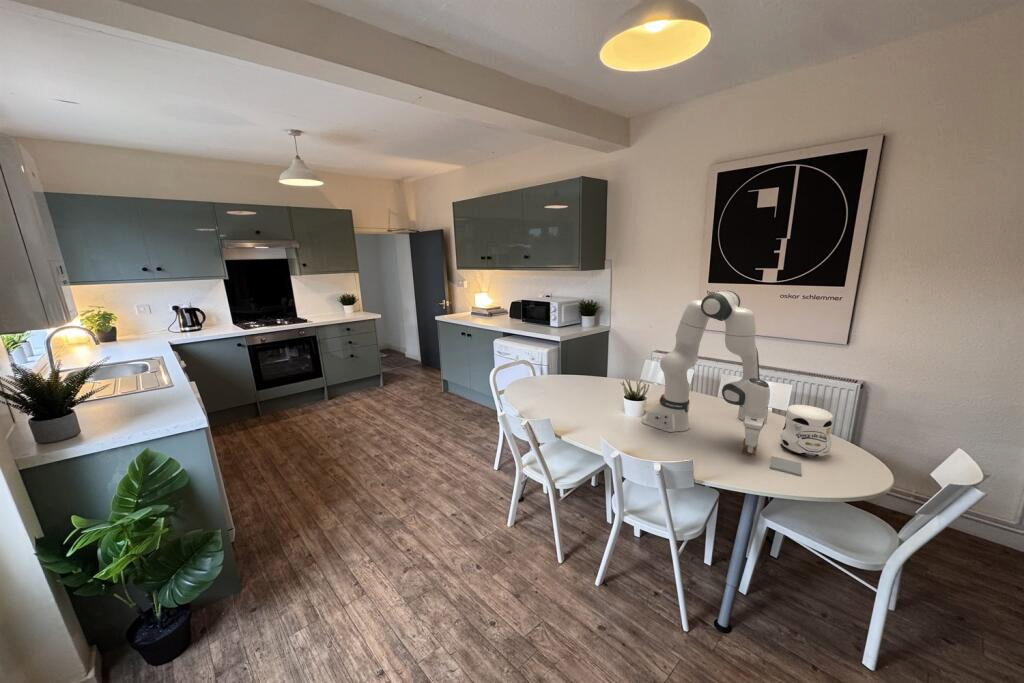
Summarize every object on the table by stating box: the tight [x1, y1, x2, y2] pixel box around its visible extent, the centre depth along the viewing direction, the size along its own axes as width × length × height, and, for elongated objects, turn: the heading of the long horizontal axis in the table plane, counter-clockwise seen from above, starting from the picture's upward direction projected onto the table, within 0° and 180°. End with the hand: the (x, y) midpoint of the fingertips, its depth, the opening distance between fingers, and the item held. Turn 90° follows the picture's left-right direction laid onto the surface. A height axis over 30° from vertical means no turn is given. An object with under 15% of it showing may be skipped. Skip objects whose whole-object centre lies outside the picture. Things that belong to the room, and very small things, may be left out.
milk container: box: [780, 404, 834, 458], centre depth 164 cm, size 17×17×18 cm
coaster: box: [769, 455, 803, 477], centre depth 153 cm, size 10×10×1 cm
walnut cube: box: [741, 437, 758, 457], centre depth 164 cm, size 5×5×5 cm
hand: (751, 447), depth 164 cm, fingers open, 8 cm apart
